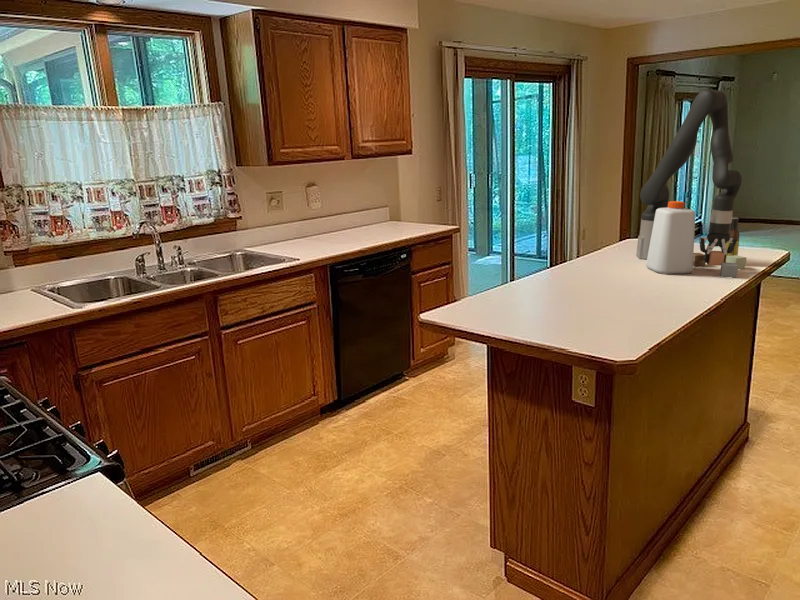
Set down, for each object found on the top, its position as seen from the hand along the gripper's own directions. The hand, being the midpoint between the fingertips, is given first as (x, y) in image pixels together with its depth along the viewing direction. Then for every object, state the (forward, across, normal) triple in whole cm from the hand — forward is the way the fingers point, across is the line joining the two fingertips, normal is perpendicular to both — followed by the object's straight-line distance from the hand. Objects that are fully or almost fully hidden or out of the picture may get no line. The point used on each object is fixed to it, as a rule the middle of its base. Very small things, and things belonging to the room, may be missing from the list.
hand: (714, 262), depth 239 cm
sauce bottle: (+4, -10, -14) cm, 18 cm away
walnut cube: (+4, +4, -10) cm, 11 cm away
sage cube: (+3, -10, -6) cm, 12 cm away
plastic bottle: (+4, +18, +1) cm, 18 cm away
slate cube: (+3, -2, +9) cm, 10 cm away
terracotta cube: (0, 0, 0) cm, 0 cm away
